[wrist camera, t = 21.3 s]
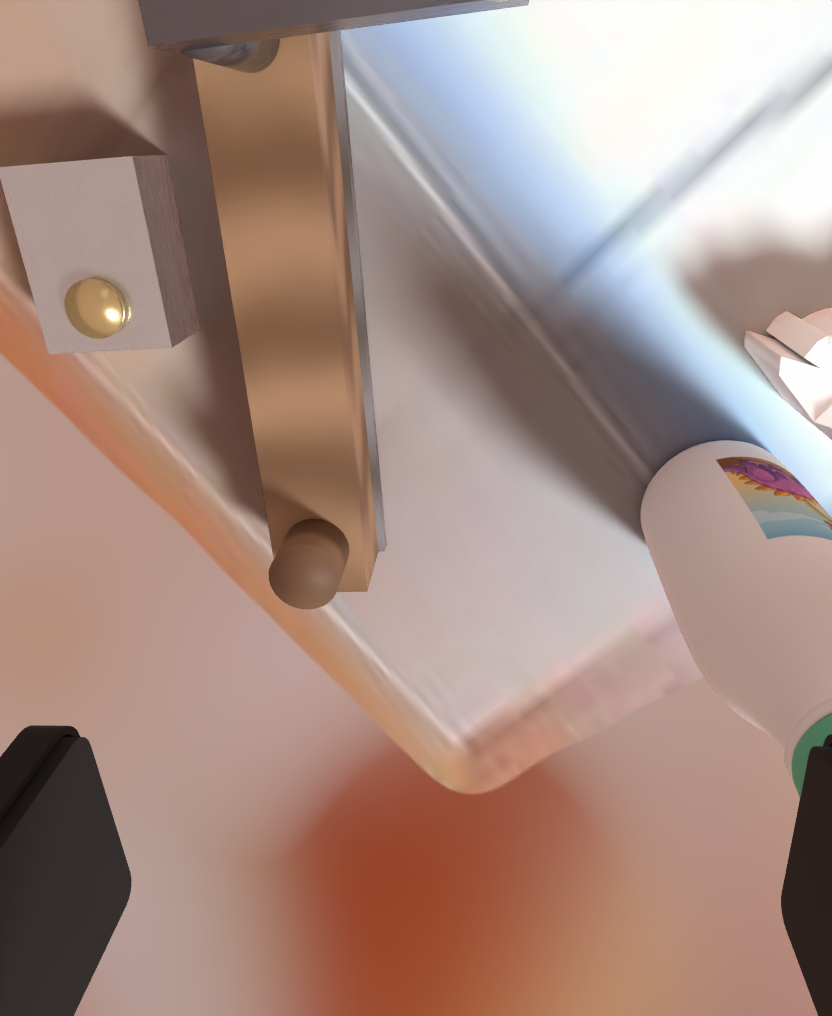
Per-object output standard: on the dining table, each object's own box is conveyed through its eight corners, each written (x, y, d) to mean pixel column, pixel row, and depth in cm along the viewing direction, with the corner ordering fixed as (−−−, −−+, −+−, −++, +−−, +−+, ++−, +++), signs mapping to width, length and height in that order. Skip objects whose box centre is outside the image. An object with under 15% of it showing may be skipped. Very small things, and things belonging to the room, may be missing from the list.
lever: (223, 76, 29) (135, 56, 22) (210, 2, 28) (113, -45, 21) (527, 37, 28) (540, 1, 21) (524, -43, 27) (536, -110, 20)
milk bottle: (681, 593, 43) (820, 921, 25) (610, 486, 40) (705, 764, 22) (817, 523, 40) (1079, 832, 22) (749, 406, 38) (981, 645, 20)
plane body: (215, 0, 33) (136, -39, 25) (336, -11, 32) (291, -55, 25) (294, 545, 44) (255, 625, 36) (386, 544, 43) (365, 625, 36)
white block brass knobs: (46, 164, 36) (-12, 168, 32) (168, 154, 36) (125, 156, 32) (89, 334, 40) (42, 357, 36) (201, 328, 39) (167, 350, 35)
